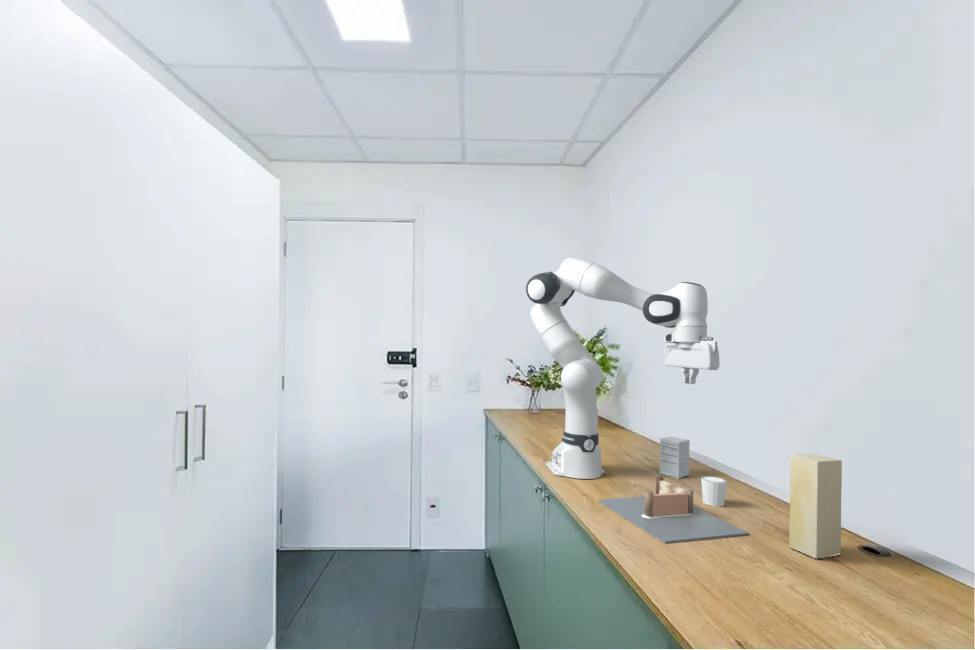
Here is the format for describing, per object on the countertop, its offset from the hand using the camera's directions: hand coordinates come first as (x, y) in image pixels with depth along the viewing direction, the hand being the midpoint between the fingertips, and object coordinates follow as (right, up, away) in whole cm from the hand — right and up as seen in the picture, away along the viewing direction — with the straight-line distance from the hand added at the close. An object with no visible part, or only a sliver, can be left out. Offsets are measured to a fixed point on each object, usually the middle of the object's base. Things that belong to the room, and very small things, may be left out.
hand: (689, 383), depth 148 cm
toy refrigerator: (+14, -34, -35) cm, 51 cm away
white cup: (+6, -35, -3) cm, 35 cm away
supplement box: (+6, -36, +27) cm, 45 cm away
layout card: (-12, -33, -16) cm, 39 cm away
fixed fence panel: (-8, -33, -7) cm, 35 cm away
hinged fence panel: (-12, -32, -16) cm, 38 cm away
